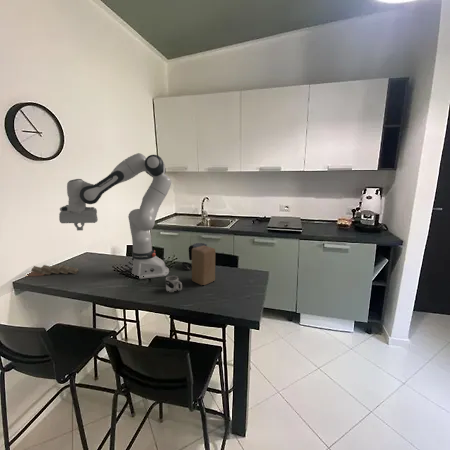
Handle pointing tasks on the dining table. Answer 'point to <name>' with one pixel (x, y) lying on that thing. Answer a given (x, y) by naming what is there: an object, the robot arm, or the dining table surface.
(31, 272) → the domino
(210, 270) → the wooden block
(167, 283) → the mug
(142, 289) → the dining table surface
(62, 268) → the domino
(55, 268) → the domino
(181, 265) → the milk frother
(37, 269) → the domino
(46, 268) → the domino
